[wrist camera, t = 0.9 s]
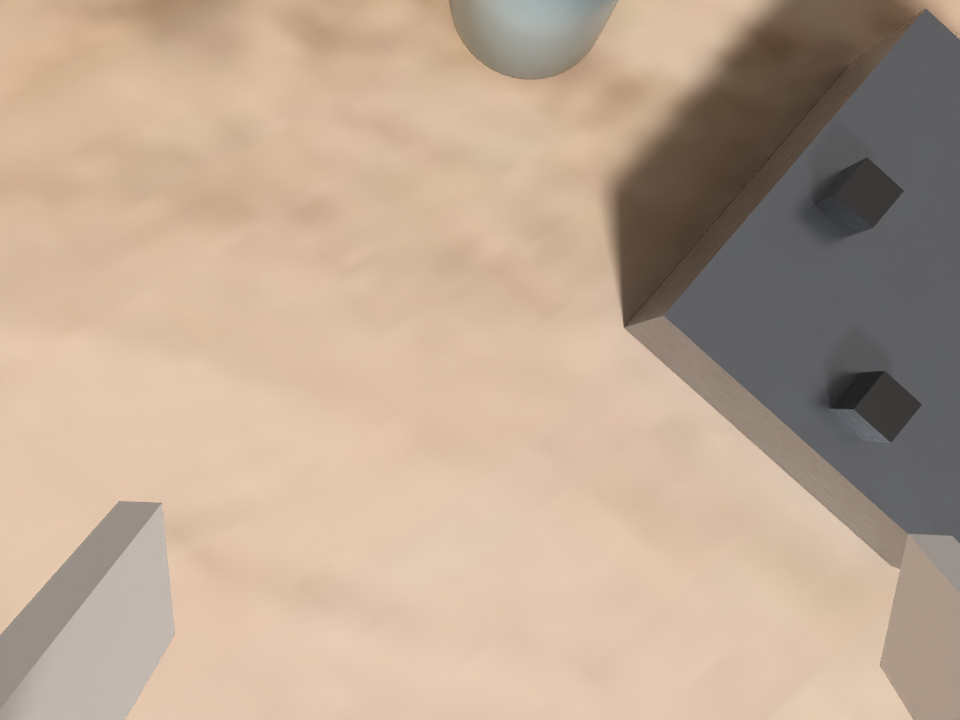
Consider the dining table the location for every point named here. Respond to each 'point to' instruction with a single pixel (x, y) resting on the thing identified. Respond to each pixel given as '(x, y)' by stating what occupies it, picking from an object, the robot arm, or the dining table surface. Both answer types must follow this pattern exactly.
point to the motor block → (842, 297)
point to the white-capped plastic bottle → (530, 33)
